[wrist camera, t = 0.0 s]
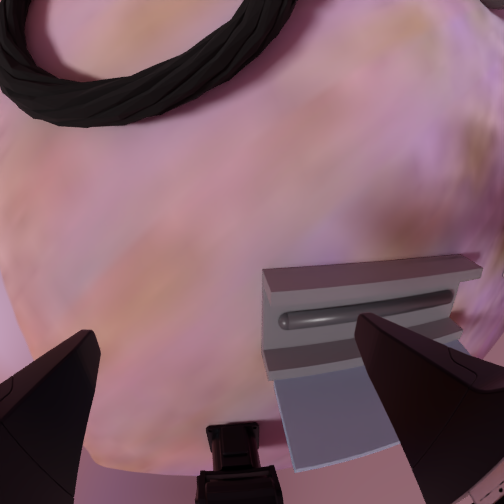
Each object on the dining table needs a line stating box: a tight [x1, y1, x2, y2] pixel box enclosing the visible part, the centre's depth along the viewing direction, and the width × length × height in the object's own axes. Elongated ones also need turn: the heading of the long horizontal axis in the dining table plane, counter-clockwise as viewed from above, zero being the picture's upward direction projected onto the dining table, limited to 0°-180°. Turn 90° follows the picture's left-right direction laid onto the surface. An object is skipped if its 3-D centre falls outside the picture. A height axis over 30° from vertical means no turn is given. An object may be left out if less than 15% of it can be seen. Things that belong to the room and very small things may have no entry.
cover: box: [274, 339, 471, 473], centre depth 22 cm, size 9×22×1 cm
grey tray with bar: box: [261, 254, 483, 381], centre depth 26 cm, size 9×23×4 cm, turn 90°
